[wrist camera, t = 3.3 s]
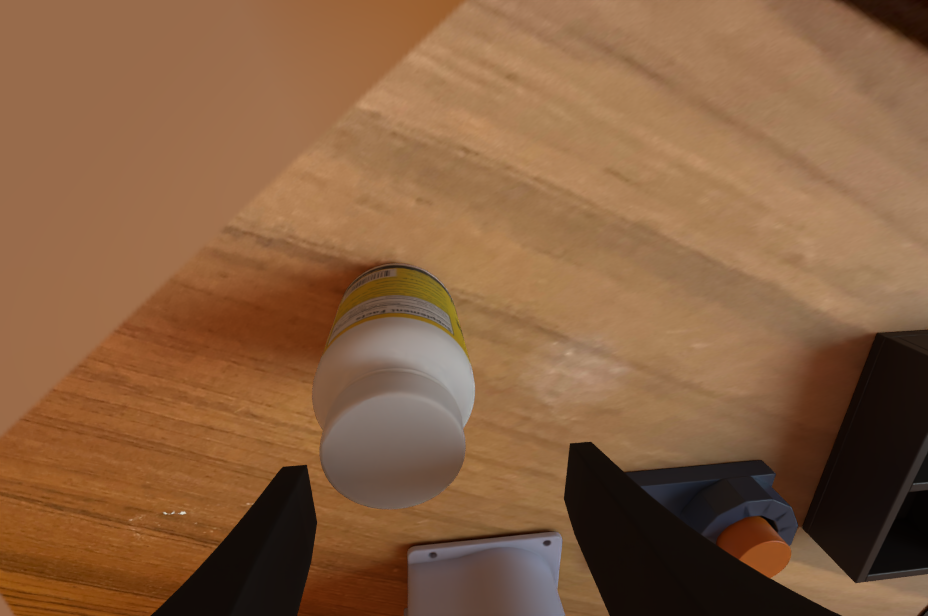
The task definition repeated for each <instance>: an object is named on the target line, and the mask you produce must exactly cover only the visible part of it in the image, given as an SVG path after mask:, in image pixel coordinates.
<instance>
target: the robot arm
mask: <svg viewBox="0 0 928 616" xmlns="http://www.w3.org/2000/svg"><path fill="white" fill-rule="evenodd" d="M564 500H565V504H566V507H567V511H568V514H569V518H570V521H571V524H572V527H573V530H574V534H575V536H576V539H577V541H578V544H579V546H580V548H581V551H582V553H583V555H584V558H585V560H586V562H587V564H588V567H589V569H590V571H591V574H592V576H593V578H594V581H595V583H596V585H597V587H598V590H599V592H600V594H601V597H602V599H603V601H604V603H605V606H606V608H607V610H608V613H609V615H610V616H841V615H839V614H837V613H835V612H832V611H830V610H828V609H826V608H824V607H822V606H821V605H819V604H817V603H815V602H813V601H811V600H809V599H807V598H805V597H803V596H801V595H799V594H798V593H796V592H794V591H792V590H790V589H788V588H786V587H785V586H783V585H781V584H779V583H777V582H776V581H774V580H772V579H770V578H769V577H767V576H765V575H764V574H762V573H760V572H759V571H757V570H755V569H754V568H752V567H750V566H749V565H747V564H745V563H744V562H742V561H740V560H739V559H737V558H735V557H734V556H732V555H731V554H729V553H728V552H726V551H725V550H723V549H722V548H720V547H719V546H717V545H716V544H714V543H713V542H711V541H710V540H708V539H707V538H706V537H704V536H703V535H701V534H700V533H698V532H697V531H695V530H694V529H693V528H691V527H690V526H689V525H687V524H686V523H685V522H683V521H682V520H681V519H679V518H678V517H677V516H676V515H674V514H673V513H672V512H670V511H669V510H668V509H667V508H665V507H664V506H663V505H662V504H660V503H659V502H658V501H657V500H656V499H654V498H653V497H652V496H651V495H650V494H648V493H647V492H646V491H645V490H644V489H643V488H641V487H640V486H639V485H638V484H637V483H636V482H634V481H633V480H632V479H631V478H630V477H629V476H628V475H627V474H626V473H624V472H623V471H622V470H621V469H620V468H619V467H618V466H617V465H616V464H615V463H613V462H612V461H611V460H610V459H609V458H608V457H607V456H606V455H605V454H604V453H603V452H602V451H600V450H599V449H598V448H597V447H596V446H595V445H594V444H593V443H592V442H583V443H570V448H569V457H568V467H567V476H566V485H565V494H564ZM316 526H317V519H316V513H315V508H314V502H313V497H312V491H311V486H310V480H309V474H308V469H307V465H300V466H288V467H283V468H282V469H281V470H280V471H279V472H278V473H277V474H276V476H275V477H274V478H273V480H272V481H271V482H270V484H269V485H268V486H267V487H266V489H265V490H264V491H263V493H262V494H261V495H260V497H259V498H258V499H257V500H256V502H255V503H254V504H253V505H252V507H251V508H250V509H249V510H248V512H247V513H246V514H245V515H244V517H243V518H242V519H241V520H240V521H239V523H238V524H237V525H236V526H235V527H234V529H233V530H232V531H231V532H230V533H229V535H228V536H227V537H226V538H225V539H224V540H223V542H222V543H221V544H220V545H219V546H218V547H217V548H216V549H215V550H214V552H213V553H212V554H211V555H210V556H209V557H208V558H207V559H206V560H205V562H204V563H203V564H202V565H201V566H200V567H199V568H198V569H197V570H196V571H195V572H194V574H193V575H192V576H191V577H190V578H189V579H188V580H187V581H186V582H185V583H184V584H183V585H182V586H181V587H180V588H179V589H178V590H177V591H176V592H175V593H174V594H173V595H172V596H171V597H170V598H169V599H168V600H167V601H166V602H165V603H164V604H163V605H162V606H161V607H160V608H158V609H157V610H156V611H155V612H154V613H153V614H152V615H151V616H297V613H298V610H299V606H300V602H301V598H302V595H303V591H304V587H305V583H306V580H307V576H308V572H309V568H310V564H311V559H312V553H313V547H314V540H315V533H316ZM561 548H562V538H561V535H560V534H559V533H558V532H545V533H535V534H526V535H516V536H506V537H497V538H487V539H478V540H468V541H458V542H449V543H439V544H430V545H420V546H413V547H411V548H409V550H408V552H407V560H408V608H405V609H404V616H565V613H564V610H563V607H562V604H561V601H560V598H559V594H558V591H557V586H558V577H559V567H560V558H561ZM432 552H433V553H432Z"/></svg>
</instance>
